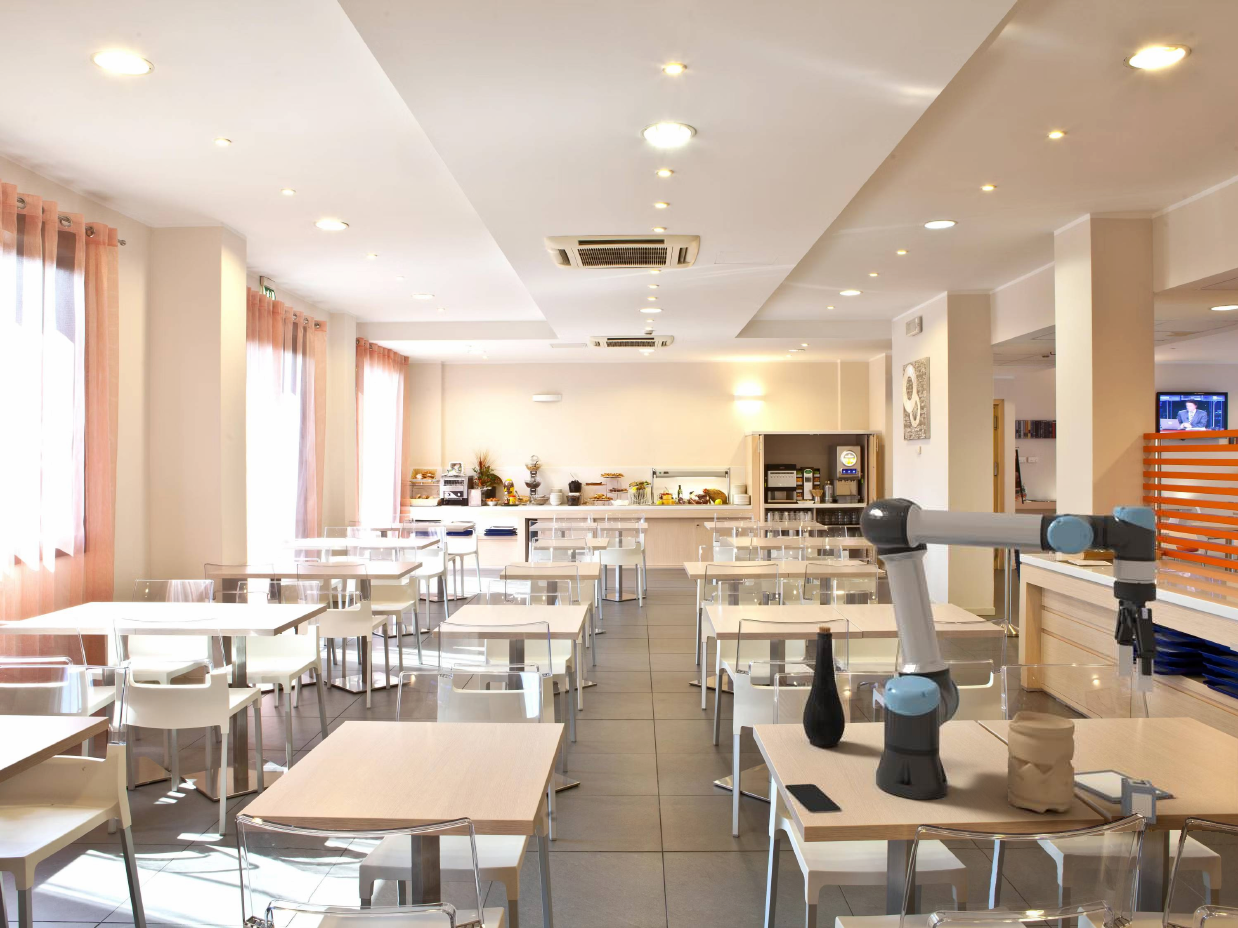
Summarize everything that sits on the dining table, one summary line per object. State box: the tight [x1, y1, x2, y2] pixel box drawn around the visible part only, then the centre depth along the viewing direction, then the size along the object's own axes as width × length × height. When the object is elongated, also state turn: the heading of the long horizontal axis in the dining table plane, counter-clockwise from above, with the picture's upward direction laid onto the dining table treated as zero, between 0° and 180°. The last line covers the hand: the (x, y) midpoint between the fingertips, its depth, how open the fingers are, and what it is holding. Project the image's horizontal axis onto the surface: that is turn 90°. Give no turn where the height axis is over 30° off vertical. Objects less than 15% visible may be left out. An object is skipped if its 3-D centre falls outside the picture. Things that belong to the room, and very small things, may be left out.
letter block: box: [1120, 777, 1157, 825], centre depth 168 cm, size 5×5×7 cm
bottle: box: [802, 626, 846, 749], centre depth 213 cm, size 11×11×30 cm
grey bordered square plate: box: [1074, 769, 1174, 805], centre depth 185 cm, size 16×16×1 cm
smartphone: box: [784, 783, 842, 814], centre depth 176 cm, size 7×1×15 cm
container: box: [1007, 710, 1076, 814], centre depth 174 cm, size 13×13×18 cm
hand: (1134, 683), depth 170 cm, fingers open, 13 cm apart
